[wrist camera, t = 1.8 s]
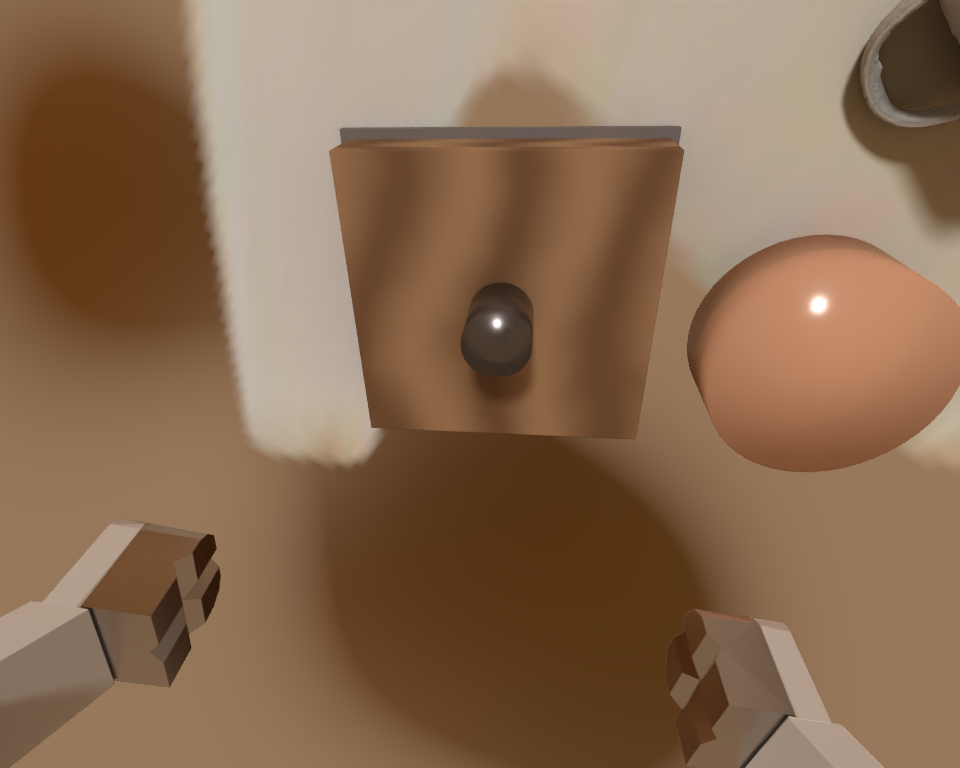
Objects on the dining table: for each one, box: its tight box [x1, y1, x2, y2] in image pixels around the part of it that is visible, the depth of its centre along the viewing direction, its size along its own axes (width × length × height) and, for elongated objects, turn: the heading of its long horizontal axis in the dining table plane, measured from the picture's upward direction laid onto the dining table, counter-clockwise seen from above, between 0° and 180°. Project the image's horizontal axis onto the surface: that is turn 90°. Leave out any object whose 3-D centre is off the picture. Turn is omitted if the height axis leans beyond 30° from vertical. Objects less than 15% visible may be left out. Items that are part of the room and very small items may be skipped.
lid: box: [329, 138, 684, 439], centre depth 31 cm, size 17×17×8 cm
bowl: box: [687, 235, 960, 472], centre depth 31 cm, size 12×12×7 cm
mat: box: [340, 126, 681, 145], centre depth 34 cm, size 18×18×1 cm
